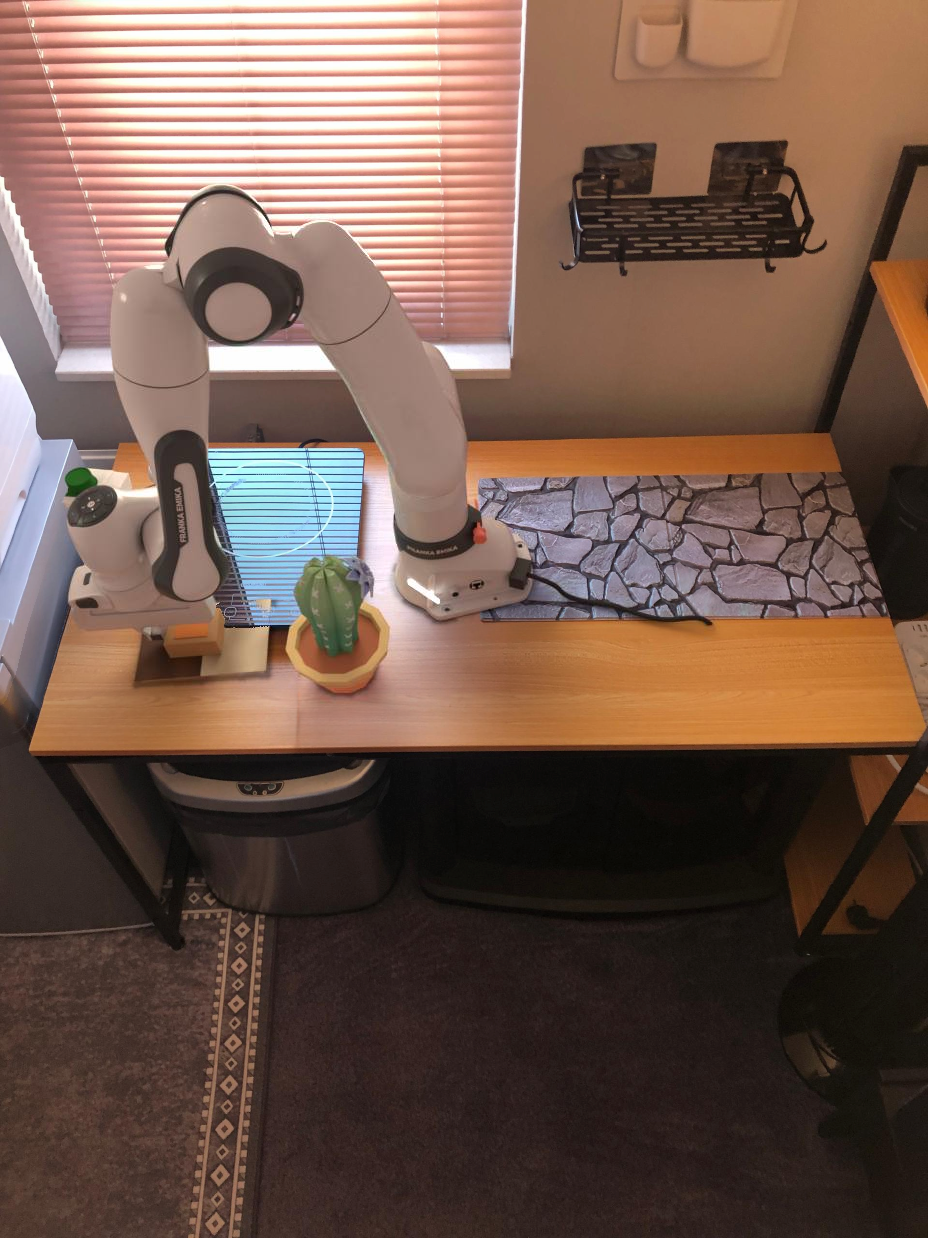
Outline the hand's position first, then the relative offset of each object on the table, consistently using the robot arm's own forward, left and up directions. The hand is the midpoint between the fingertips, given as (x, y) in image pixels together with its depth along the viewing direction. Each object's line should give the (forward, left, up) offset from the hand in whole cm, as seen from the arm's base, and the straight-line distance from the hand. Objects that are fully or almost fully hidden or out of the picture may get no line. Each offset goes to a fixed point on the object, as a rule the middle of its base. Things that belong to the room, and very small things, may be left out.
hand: (159, 636), depth 147 cm
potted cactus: (-29, +7, -3) cm, 30 cm away
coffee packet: (-6, 0, -1) cm, 6 cm away
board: (-7, 0, -3) cm, 7 cm away
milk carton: (+7, -18, -3) cm, 20 cm away
